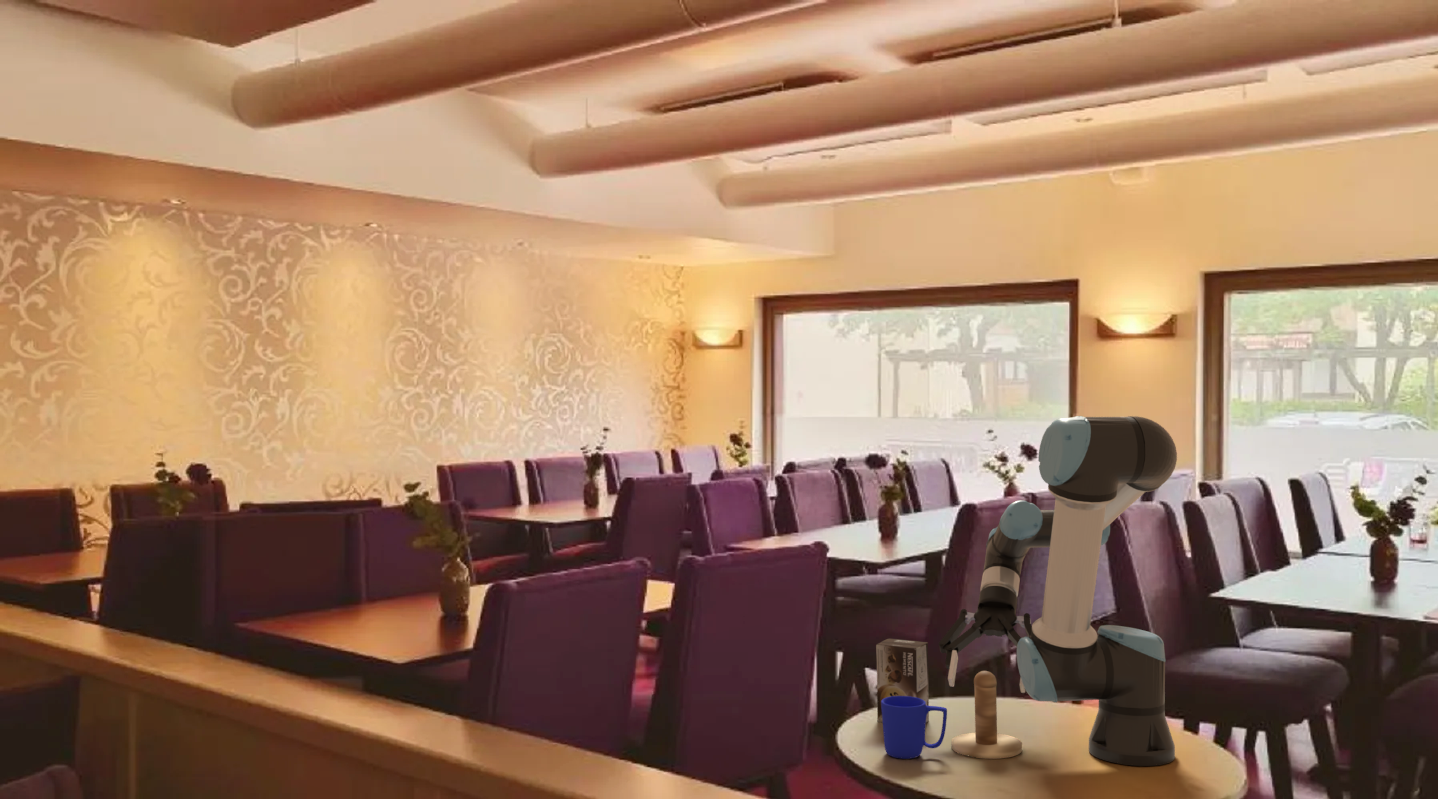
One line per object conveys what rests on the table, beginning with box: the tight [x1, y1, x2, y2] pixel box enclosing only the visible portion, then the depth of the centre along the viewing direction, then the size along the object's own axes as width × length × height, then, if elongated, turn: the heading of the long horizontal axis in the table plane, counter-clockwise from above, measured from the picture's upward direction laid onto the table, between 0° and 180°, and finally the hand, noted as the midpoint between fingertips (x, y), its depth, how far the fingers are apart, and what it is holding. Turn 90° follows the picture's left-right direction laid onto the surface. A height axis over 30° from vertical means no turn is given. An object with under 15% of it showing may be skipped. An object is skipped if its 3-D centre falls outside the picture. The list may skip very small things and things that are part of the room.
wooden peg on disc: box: [950, 670, 1023, 760], centre depth 231 cm, size 13×13×15 cm
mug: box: [881, 696, 948, 760], centre depth 227 cm, size 8×12×10 cm
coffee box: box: [875, 638, 930, 723], centre depth 250 cm, size 9×6×16 cm
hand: (986, 686), depth 236 cm, fingers open, 13 cm apart
